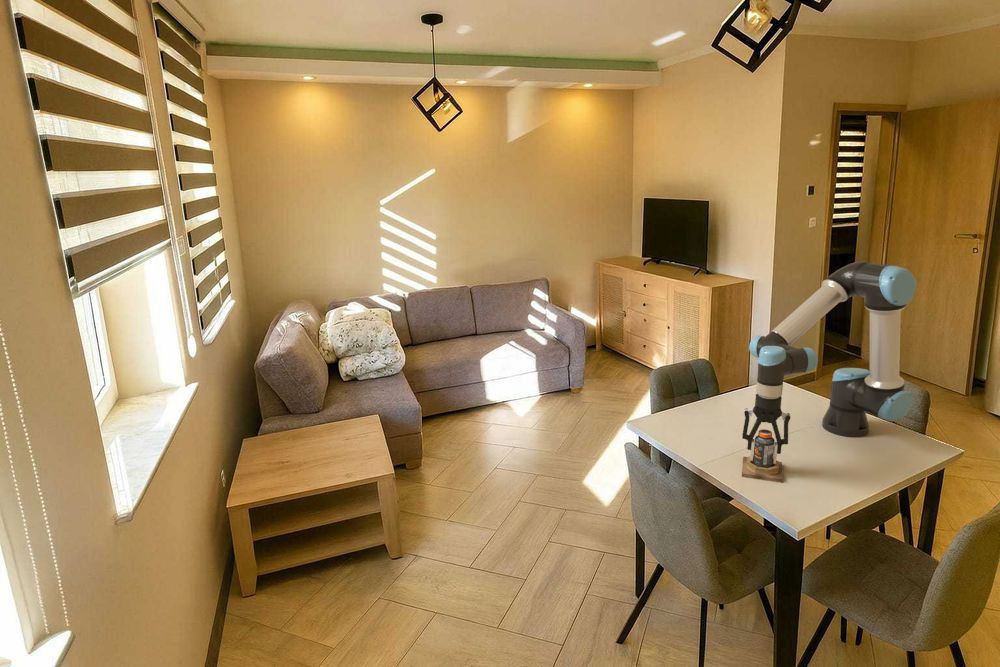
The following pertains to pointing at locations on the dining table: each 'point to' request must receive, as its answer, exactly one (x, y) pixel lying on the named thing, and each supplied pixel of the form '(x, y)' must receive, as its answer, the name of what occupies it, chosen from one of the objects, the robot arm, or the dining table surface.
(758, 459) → the pill bottle
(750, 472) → the socket board
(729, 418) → the dining table surface
